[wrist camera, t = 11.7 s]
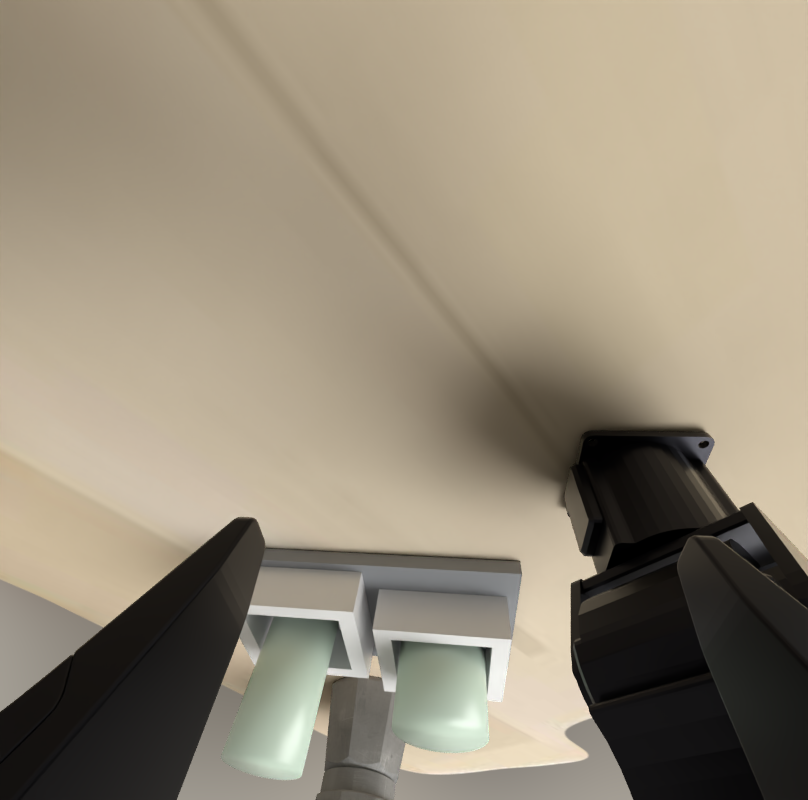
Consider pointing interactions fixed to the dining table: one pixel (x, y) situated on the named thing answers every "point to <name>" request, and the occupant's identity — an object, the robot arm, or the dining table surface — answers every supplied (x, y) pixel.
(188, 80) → the dining table surface
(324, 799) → the coffeepot
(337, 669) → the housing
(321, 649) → the pale green rounded block
